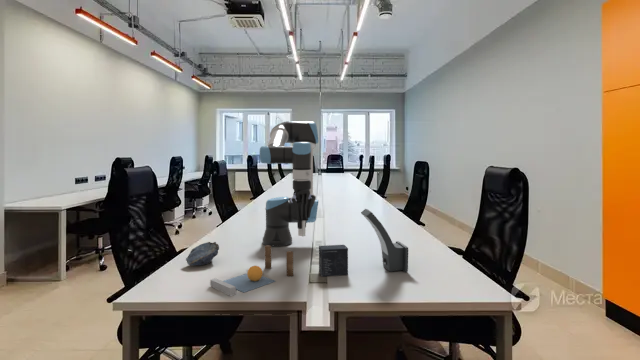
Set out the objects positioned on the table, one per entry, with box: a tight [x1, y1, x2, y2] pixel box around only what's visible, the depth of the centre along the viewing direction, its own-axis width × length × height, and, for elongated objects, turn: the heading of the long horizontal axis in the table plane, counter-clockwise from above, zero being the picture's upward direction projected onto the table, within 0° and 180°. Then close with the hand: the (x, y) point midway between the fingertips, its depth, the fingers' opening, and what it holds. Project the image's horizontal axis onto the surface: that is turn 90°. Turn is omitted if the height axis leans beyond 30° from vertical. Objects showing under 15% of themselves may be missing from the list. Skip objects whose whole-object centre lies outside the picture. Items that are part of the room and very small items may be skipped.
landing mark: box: [222, 273, 276, 293], centre depth 131 cm, size 14×14×1 cm
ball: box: [246, 265, 263, 281], centre depth 132 cm, size 6×6×6 cm
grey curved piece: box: [360, 208, 409, 273], centre depth 145 cm, size 11×17×24 cm, turn 100°
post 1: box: [264, 245, 272, 270], centre depth 146 cm, size 3×3×9 cm
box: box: [318, 244, 349, 277], centre depth 140 cm, size 11×7×10 cm, turn 100°
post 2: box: [285, 250, 294, 277], centre depth 138 cm, size 3×3×9 cm
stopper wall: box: [209, 277, 237, 297], centre depth 123 cm, size 12×2×2 cm, turn 49°
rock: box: [185, 241, 220, 267], centre depth 152 cm, size 16×8×10 cm
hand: (301, 235), depth 152 cm, fingers closed
